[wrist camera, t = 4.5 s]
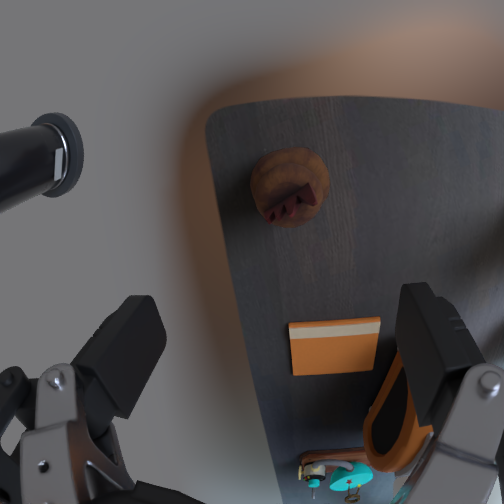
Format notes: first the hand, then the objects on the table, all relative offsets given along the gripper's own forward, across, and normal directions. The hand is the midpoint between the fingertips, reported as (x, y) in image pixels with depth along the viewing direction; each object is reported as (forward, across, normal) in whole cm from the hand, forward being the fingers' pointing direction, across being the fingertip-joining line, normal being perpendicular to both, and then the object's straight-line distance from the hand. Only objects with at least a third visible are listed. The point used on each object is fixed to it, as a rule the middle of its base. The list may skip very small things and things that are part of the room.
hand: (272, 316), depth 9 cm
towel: (+23, -4, +24) cm, 34 cm away
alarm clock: (+24, -16, +33) cm, 44 cm away
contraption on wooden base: (+24, -7, +61) cm, 66 cm away
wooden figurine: (+24, 0, 0) cm, 24 cm away
